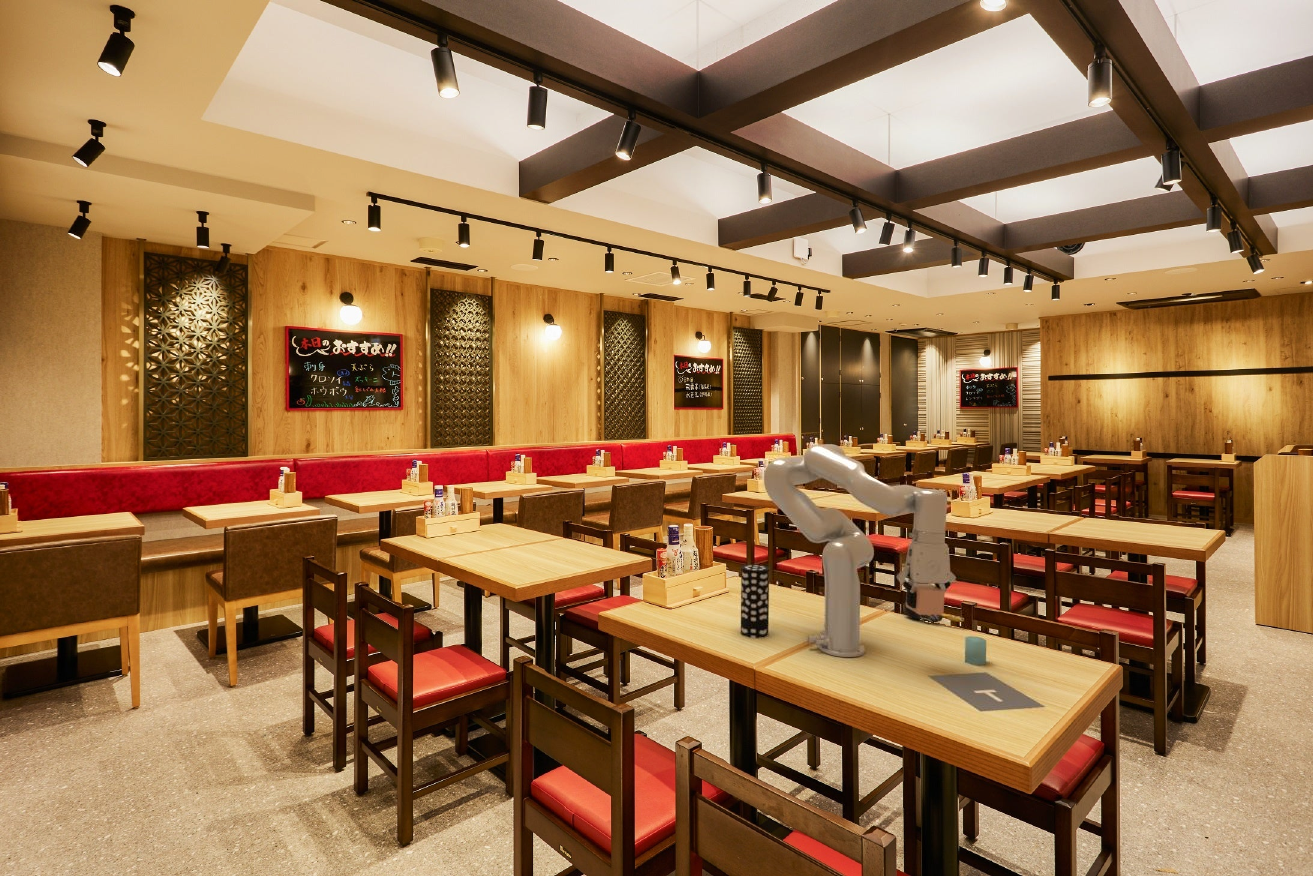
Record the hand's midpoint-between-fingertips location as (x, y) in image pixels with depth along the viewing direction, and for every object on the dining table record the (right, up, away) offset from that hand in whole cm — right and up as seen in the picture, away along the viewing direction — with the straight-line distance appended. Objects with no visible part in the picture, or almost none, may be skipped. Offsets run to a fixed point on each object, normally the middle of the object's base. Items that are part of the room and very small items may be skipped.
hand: (924, 606), depth 165 cm
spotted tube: (-39, -16, +29) cm, 52 cm away
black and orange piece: (+20, -16, +42) cm, 49 cm away
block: (0, -1, 0) cm, 1 cm away
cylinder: (+15, -17, +5) cm, 23 cm away
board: (+8, -17, -14) cm, 24 cm away
